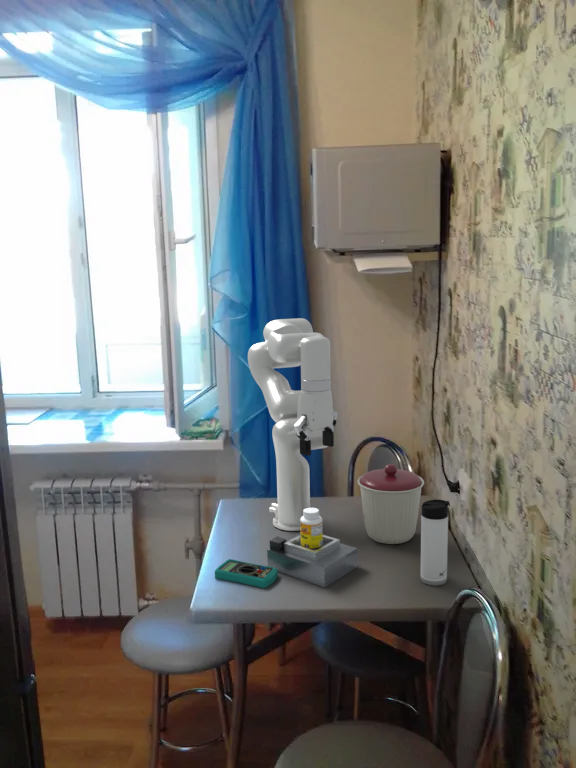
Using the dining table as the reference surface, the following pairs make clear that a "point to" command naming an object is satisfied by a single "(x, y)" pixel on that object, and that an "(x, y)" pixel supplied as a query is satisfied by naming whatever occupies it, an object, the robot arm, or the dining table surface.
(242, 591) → the dining table surface
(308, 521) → the supplement bottle
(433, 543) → the travel mug
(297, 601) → the dining table surface
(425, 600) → the dining table surface
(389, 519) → the canister
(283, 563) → the grey square socket fixture
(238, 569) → the digital multimeter
